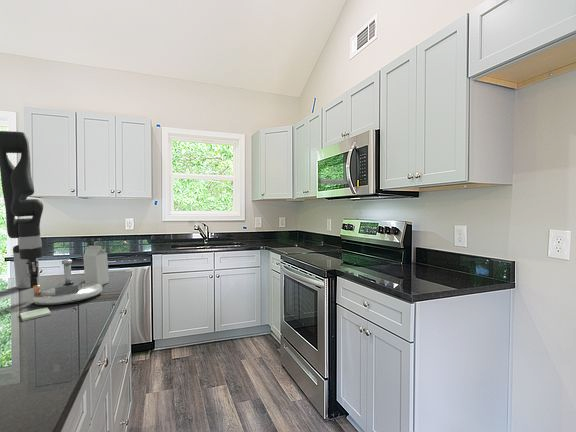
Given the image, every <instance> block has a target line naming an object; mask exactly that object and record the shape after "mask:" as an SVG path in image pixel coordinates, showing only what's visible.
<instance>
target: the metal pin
mask: <svg viewBox="0 0 576 432" xmlns="http://www.w3.org/2000/svg"><path fill="white" fill-rule="evenodd" d="M61 264H62V265H63V270H64V271H63V274H64V283H65V285H72V282H73V278H72V264H73V259H71V258H70V259H64V260H61Z"/></svg>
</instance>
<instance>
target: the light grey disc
mask: <svg viewBox="0 0 576 432" xmlns="http://www.w3.org/2000/svg"><path fill="white" fill-rule="evenodd" d="M32 289H33V290H32V291H33V298H32V300H33V303H34V304H35V305H39V306H53V305H55V306H57V305H65V304H69V303H75V302H79V301H84V300H87V299H91V298H93V297H95V296H98V295H99V294H101V293H102V292H103V285H100V284H95V283H85V282H82V280H76V281H72V285H65V282H60V283H58V284H57V285H56V286H55V287H52V288H50V289H46V290H43V291H41V284H40V285H34V286H33V288H32Z"/></svg>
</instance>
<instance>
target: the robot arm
mask: <svg viewBox="0 0 576 432" xmlns="http://www.w3.org/2000/svg"><path fill="white" fill-rule="evenodd" d="M7 154H20V159H19V161H18V163H17V164H16V165H14V164H13V163H12V161H11V160H10V159H9V157H8V155H7ZM31 165H32V164H31V151H30V142H29V139H28V136H27V134H26V133H25V132H23V131H11V130H10V131H9V130H8V131H7V130H0V181H1V190H2V196H3V200H4V206H5V218H6V220H5V223H6V224H5V225H6V233H7V235H8V237H9V238H10V239H18V244H17V245H14V246H13V247H12V256H13V264H14V265H13V266H14V275H15V276H14V277H15V288H16V289H29V288H31V289H33V286H34V285H40V286H41V278H40V277H41V276H40V264H39V258H43V254H44V253H43V242H42V237H41V225H40V224H41V219H42V214H43V213H44V212H43V211H44V203H43V202H42V201H41V200H40V199H38V198H35V199H34V198H33V199H32V198H30V199H29V198H28V197H30V196H32V195H34V193H35V188H34V187H35V186H34V183H33V179H32V178H33V177H32V171H31V170H32V169H31ZM16 217H19V218H16ZM20 217H30V218H20ZM31 217H32V218H31Z"/></svg>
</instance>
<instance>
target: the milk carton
mask: <svg viewBox="0 0 576 432" xmlns="http://www.w3.org/2000/svg"><path fill="white" fill-rule="evenodd" d="M83 254H84V253H83ZM82 258H83V271H84V283H95V284H100V285H102V286H103V285H106V284H108V283H110V278H109V264H108V253H107V252H106V251H105V250H104V249H103V248H102V245H91V246H90V245H88V248H87V250H86V251H85V254H84V255H83V256H82Z"/></svg>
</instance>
